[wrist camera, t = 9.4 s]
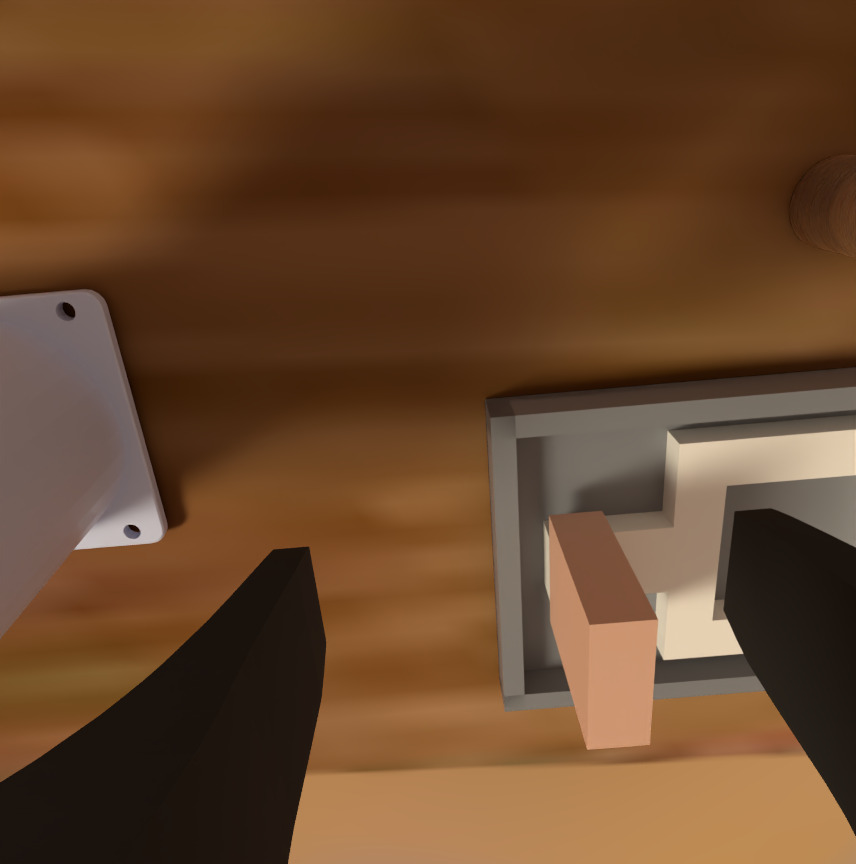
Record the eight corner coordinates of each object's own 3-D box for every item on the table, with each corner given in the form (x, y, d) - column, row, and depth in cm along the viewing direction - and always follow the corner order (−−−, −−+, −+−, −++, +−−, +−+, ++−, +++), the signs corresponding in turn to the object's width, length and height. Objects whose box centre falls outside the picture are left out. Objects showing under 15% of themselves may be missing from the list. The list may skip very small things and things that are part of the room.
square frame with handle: (545, 648, 24) (586, 803, 18) (541, 441, 20) (590, 552, 15) (883, 621, 23) (1028, 769, 18) (933, 408, 20) (1129, 508, 15)
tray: (499, 679, 25) (505, 711, 23) (484, 398, 20) (490, 417, 19) (928, 645, 24) (959, 675, 23) (1007, 354, 20) (1051, 369, 19)
